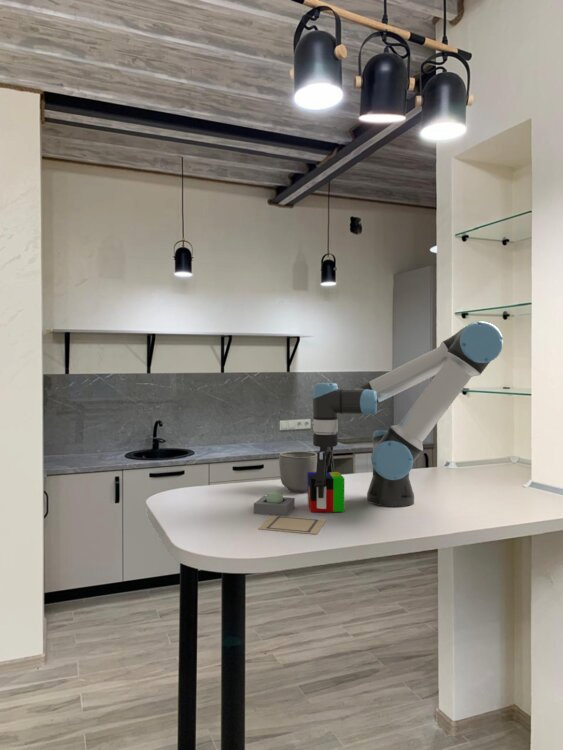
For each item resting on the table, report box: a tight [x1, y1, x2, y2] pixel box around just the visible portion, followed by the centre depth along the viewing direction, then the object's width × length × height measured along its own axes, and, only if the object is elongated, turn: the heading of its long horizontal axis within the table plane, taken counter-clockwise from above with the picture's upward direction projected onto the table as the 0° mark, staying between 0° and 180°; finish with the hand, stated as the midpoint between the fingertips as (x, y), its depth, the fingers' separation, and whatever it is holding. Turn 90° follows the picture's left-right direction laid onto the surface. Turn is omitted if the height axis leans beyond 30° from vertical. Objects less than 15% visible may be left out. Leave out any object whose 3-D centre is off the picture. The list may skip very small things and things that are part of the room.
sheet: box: [257, 515, 327, 535], centre depth 151 cm, size 16×13×1 cm
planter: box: [278, 450, 317, 494], centre depth 192 cm, size 14×14×13 cm
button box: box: [253, 495, 296, 517], centre depth 166 cm, size 10×10×3 cm
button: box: [265, 491, 284, 504], centre depth 166 cm, size 5×5×4 cm
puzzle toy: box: [306, 471, 345, 513], centre depth 169 cm, size 10×10×10 cm
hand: (325, 503), depth 169 cm, fingers closed on puzzle toy, 12 cm apart
